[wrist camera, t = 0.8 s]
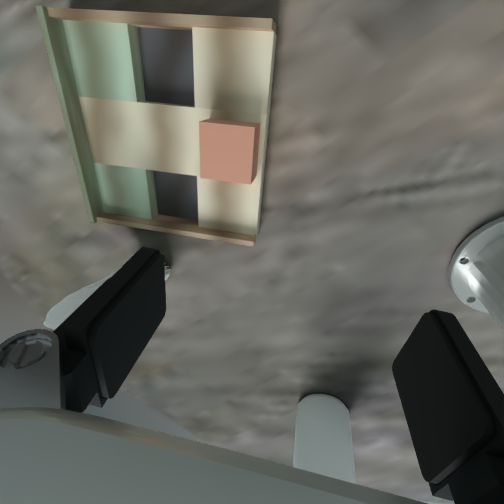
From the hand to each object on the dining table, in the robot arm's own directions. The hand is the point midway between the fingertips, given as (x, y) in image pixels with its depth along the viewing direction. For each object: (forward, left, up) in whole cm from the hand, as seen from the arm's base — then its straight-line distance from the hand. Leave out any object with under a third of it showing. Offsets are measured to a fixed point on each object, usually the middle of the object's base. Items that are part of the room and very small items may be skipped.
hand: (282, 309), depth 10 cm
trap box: (+14, -1, -23) cm, 27 cm away
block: (+7, -1, -21) cm, 22 cm away
